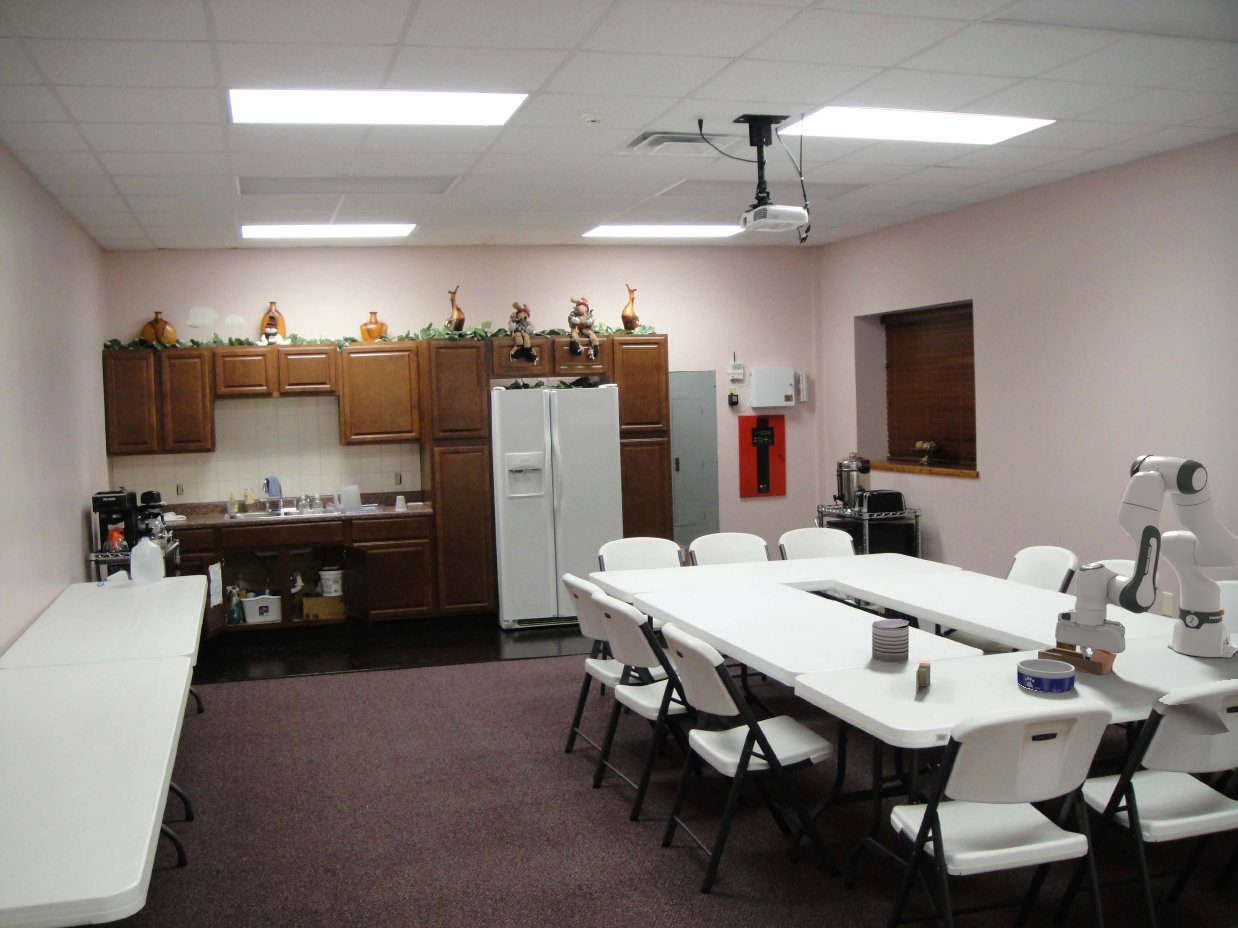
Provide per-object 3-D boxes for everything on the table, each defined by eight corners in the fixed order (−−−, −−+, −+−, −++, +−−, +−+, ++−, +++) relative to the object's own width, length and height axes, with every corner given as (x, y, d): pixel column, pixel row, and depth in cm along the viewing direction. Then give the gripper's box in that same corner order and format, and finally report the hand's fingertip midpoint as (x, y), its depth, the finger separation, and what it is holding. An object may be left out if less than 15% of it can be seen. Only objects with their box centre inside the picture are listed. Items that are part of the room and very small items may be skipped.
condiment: (1080, 654, 319) (1081, 617, 319) (1053, 653, 320) (1054, 617, 319) (1072, 648, 327) (1073, 612, 326) (1046, 648, 327) (1046, 612, 327)
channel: (1051, 657, 315) (1051, 646, 315) (1112, 669, 300) (1112, 658, 300) (1037, 662, 310) (1038, 651, 310) (1099, 674, 295) (1099, 663, 295)
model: (930, 685, 288) (930, 659, 288) (927, 695, 278) (928, 668, 278) (918, 684, 289) (919, 658, 289) (916, 694, 279) (916, 667, 279)
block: (1096, 663, 302) (1102, 646, 300) (1110, 671, 299) (1116, 653, 297) (1088, 666, 299) (1095, 649, 297) (1103, 674, 296) (1109, 656, 294)
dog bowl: (1008, 686, 285) (1008, 665, 285) (1028, 675, 296) (1028, 655, 296) (1063, 696, 275) (1064, 675, 274) (1082, 684, 286) (1082, 664, 285)
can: (907, 664, 309) (908, 626, 309) (870, 661, 313) (870, 624, 312) (909, 655, 320) (909, 618, 319) (873, 652, 324) (873, 616, 323)
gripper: (1130, 621, 294) (1128, 667, 295) (1063, 610, 310) (1062, 653, 311) (1119, 624, 290) (1118, 670, 291) (1053, 612, 307) (1052, 656, 307)
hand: (1089, 661), depth 301 cm, fingers closed
